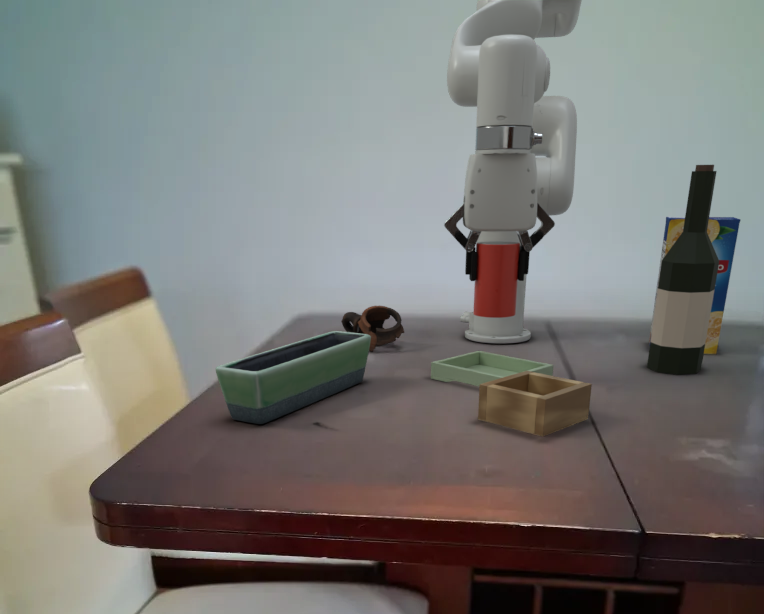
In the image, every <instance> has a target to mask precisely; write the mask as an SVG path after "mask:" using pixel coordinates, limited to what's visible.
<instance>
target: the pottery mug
mask: <svg viewBox="0 0 764 614" xmlns="http://www.w3.org/2000/svg"><path fill="white" fill-rule="evenodd" d="M391 317H392V318H393V319H394V320H395V322H396V323H395V325H393V326H391V327H388V328H387V327H386V328H385V327H384V324H385V322H386V320H389V319H390V318H391ZM402 320H403V319H402V316H401V314H400V313H399V312H398V311H396V310H395V309H393V308H392V307H388V306H385V305H371V306H369V307H367V308H365V309H364V310H363V311H362V313H361V314H359V313H357V312H354V311H347V312H346V313H344V314H343V316H342V319H341V321H340V322H341V324H342V327H343V329H344V330H345V332H351V333H360V334H368V335H370V336H371V341H370V347H369V352H373V351H375V349H376V347H380V346H384V345H387V344H390V343H392V342H396V341H397V339H400V337H401V335H402V334H404V333H406V332H405V328H404V326H403V325H402V322H403V321H402Z"/></svg>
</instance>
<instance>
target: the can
mask: <svg viewBox="0 0 764 614" xmlns="http://www.w3.org/2000/svg"><path fill="white" fill-rule="evenodd" d="M475 248H476V250H475V252H477V270H476V280H475V281H474V289H473V290H474V291H473V311H472V312H473V314H474V315H476V316H480V317H490V318H503V317H511V316H514V315H515V314H516V298H517V283H518V267H519V252H520V243H518V242H509V241H486V242H478V243H476V245H475Z"/></svg>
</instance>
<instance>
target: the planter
mask: <svg viewBox="0 0 764 614" xmlns="http://www.w3.org/2000/svg"><path fill="white" fill-rule="evenodd" d="M370 341H371V336H370V335H368V334H360V333H351V332H347V331H341V330H332V331H329V332H324V333H322V334H319V335H314V336H312V337H308V338H305V339H301V340H299V341H295V342H292V343H289V344H285V345H282V346H278V347H276V348H272V349H268V350H266V351H262V352H260V353H256V354H252V355H249V356H246V357H243V358H240V359H236V360H233V361H230V362H227V363H224V364H221V365H218V366H216V367H215V375H216V377H217V381H218V384H219V386H220V389H221V392H222V395H223V398H224V401H225V403H226V407H227V409H228V412H229V414H230V417H231V419H232V420H235V421H238V422H239V421H240V422H245V423H249V424H255V425H263V424H266V423H268V422H271V421H274V420H277V419H278V418H281V417H283V416H286V415H288V414H290V413H293V412H295V411H297V410H299V409H302V408H304V407H306V406H309V405H311V404H313V403H316V402H319V401H321V400H324V399H326V398H328V397H330V396H333V395H335V394H337V393H340V392H342V391H344V390H346V389H347V390H348V388H351V387H353V386H355V385H359V384H360V383H362V382H363V380H364V376H365V372H366V367H367V362H368V358H369V352H370V350H369V347H370Z"/></svg>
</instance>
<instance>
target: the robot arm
mask: <svg viewBox="0 0 764 614" xmlns="http://www.w3.org/2000/svg"><path fill="white" fill-rule="evenodd" d="M582 1H583V0H477V2H476V11H475V12H474V13H472V14H471V15H469V16H468V17H466V18H465V19H463V21H462V22H461V23H460V24H459V25H458V27H457V28H456V31H455V32H454V34H453V38H452V41H451V45H450V52H449V55H448V63H447V70H446V87H447V91H448V95H449V98H450V99H451V100H452V102H453V103H454V104H455V105H457V106H460V107H463V108H464V107H465V108H474V107H475V108H476V123H475V128H476V129H475V146H474V147H475V149H474V150H475V151H474V154H473V153H472V154H469V156H468V160H467V166H466V171H465V178H464V189H463V203H461V205H459V207H458V208H457V209H456V210H455V211H454V212H453V213H452V214H451V215H450V216H449V217H448V218H447V219H446V220H445V221H444V222H443V226H444V228H445V229H446V230H447V231H448V233H450V235H451V236H452V237H453V239H455V240H456V242H458V243H459V245H460V246H461V247H462V248H463V250H465V270H464V271H465V272H464V273H465V275H466V276H467V275H468V278H469V280H470V282H475V280H476V270H477V252H476V243H478V242H486V241H509V242H518V243H520V252H519V267H518V283H517V298H516V314H515V315H514V316H511V317H503V318H490V317H480V316H476V315H474V314H473V312H474V311H465V312H463V314H462V315H461V316H460V317H459V322H460V323H465V324H468V329H466V330H465V331H464V337H465V338H466V339H467V340H469V341H472V342H476V343H483V344H495V345H497V344H498V345H500V344H501V345H502V344H505V345H506V344H517V343H524V342H527V341H529V340H530V339H531V334H532V333H531V331H530V330H528V329H525V328H524V318H525V303H526V291H527V288H526V287H527V276H528V275H529V266H530V252H531V251H532V250H533V248H534V247H536V245H538V243H539V242H541V241H542V240H543V238H544V237H545V236H546V235H547V234H548V233H549V232H550V231H551V230H552V229H553V228H554V227H555V226H556V223H555V221H554V220H553V218H552V216H558V215H562V214H564V213H566V212H567V211H568V210H569V208H570V207H571V204H572V201H573V197H574V189H575V173H576V172H575V171H576V154H577V153H576V152H577V150H576V149H577V137H578V136H577V135H578V134H577V133H578V116H577V110H576V106H575V103H574V102H573V100H571V98H569V97H568V96H563V95H562V96H561V95H544V94H545V93H546V92H547V91H548V88H549V85H550V79H551V62H550V61H551V60H550V59H549V57H547V54H546V52H545V50H544V49H543V48H542V46H540V45H538V44H537V43H536V41H535V39H540V38H541V39H543V38H544V39H545V38H561V37H566V36H568V35H569V34H571V33H572V32H573V30H575V27H576V26H577V23H578V19H579V16H580V12H581V11H580V10H581V6H582V5H581V4H582ZM537 219H538V220H539V222H540V226H539V227H538V228H537V229H536V230H535V231H534V232H533V233H531V235H530V234H529V231H530V230H532V229H533V228H535V226H536V225H537ZM461 220H462V225H463V226H464V227H465V228H466V229H468V230H469V233H468V235H467V236H466V235H465V234H464V233H463V232H462V231H461V230H460V229H459V227H458V226H457V224H458V223H459V222H460V221H461Z"/></svg>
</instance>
